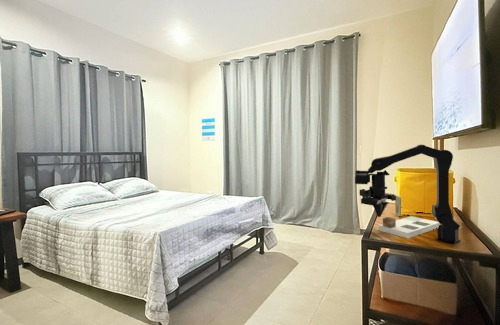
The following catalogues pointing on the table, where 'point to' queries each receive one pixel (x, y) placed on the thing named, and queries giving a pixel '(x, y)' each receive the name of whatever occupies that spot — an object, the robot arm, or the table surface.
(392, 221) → the walnut block
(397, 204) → the skincare box
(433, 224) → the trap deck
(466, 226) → the table surface
